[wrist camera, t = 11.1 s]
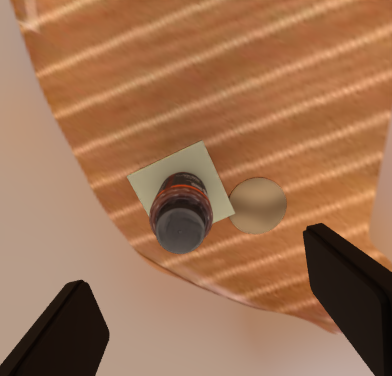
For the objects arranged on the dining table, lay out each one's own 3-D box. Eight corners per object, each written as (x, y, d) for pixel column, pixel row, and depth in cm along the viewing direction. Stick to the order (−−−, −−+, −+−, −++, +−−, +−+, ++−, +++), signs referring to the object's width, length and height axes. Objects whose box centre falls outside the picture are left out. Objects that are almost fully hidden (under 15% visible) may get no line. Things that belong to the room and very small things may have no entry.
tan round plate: (221, 186, 34) (221, 186, 33) (279, 170, 33) (281, 171, 33) (234, 238, 36) (235, 240, 35) (289, 224, 36) (290, 226, 35)
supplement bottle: (160, 215, 29) (142, 265, 18) (159, 170, 28) (138, 195, 17) (206, 215, 29) (215, 265, 18) (207, 170, 28) (218, 195, 17)
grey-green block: (136, 169, 33) (126, 176, 28) (200, 139, 32) (202, 140, 27) (168, 229, 35) (164, 244, 30) (228, 201, 34) (235, 213, 29)
